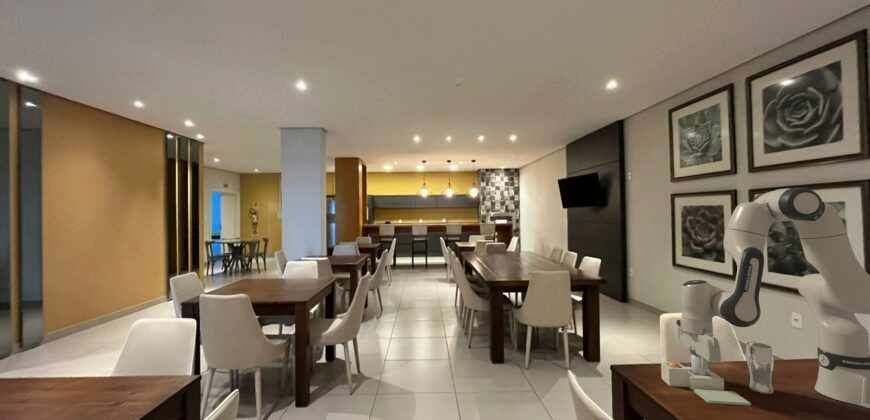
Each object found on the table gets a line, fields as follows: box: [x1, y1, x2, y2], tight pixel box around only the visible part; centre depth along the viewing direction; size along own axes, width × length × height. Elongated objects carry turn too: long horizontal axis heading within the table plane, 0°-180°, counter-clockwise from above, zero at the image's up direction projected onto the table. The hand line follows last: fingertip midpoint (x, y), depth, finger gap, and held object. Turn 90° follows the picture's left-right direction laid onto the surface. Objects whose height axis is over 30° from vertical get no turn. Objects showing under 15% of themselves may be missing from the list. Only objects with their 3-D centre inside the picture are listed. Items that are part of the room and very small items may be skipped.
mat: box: [693, 389, 752, 407], centre depth 116 cm, size 12×8×1 cm, turn 81°
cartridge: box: [690, 346, 707, 376], centre depth 126 cm, size 5×5×12 cm
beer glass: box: [745, 341, 774, 395], centre depth 122 cm, size 7×7×15 cm
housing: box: [660, 361, 725, 391], centre depth 127 cm, size 16×10×6 cm, turn 81°
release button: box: [668, 361, 679, 368], centre depth 128 cm, size 3×3×4 cm
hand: (699, 365), depth 126 cm, fingers closed on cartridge, 4 cm apart
